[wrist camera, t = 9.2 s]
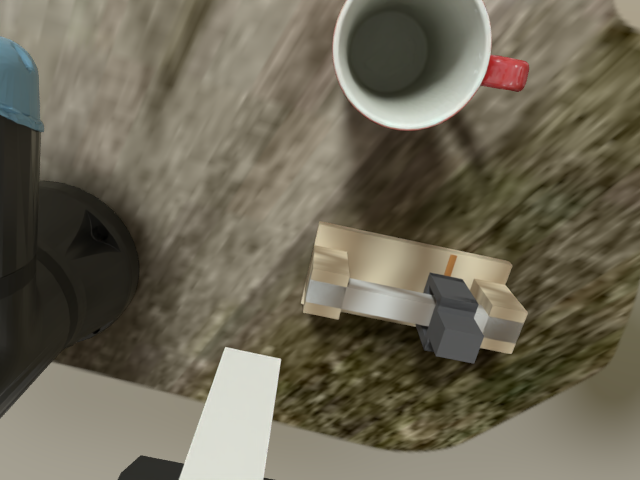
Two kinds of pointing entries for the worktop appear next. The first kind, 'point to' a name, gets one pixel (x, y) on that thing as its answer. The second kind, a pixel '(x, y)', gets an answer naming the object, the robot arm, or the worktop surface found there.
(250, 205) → the worktop surface
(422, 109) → the mug
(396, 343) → the worktop surface
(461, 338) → the dark grey sliding collar
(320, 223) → the rail
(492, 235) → the worktop surface
